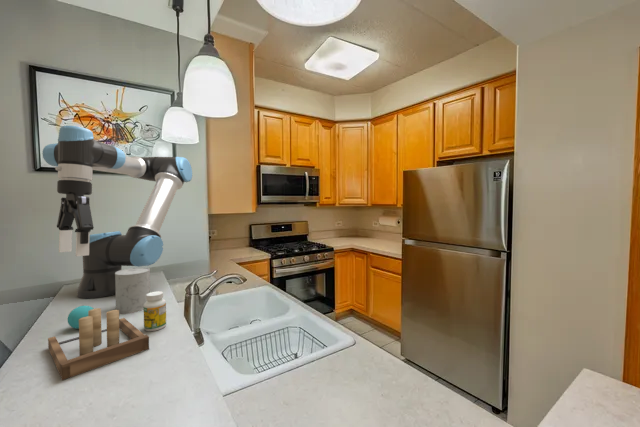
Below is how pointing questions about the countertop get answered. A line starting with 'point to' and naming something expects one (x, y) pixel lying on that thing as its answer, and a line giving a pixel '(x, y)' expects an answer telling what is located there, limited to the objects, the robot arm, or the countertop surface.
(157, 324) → the supplement bottle
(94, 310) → the front pin
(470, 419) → the countertop surface
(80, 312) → the ball
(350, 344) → the countertop surface
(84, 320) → the pin
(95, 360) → the frame
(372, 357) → the countertop surface
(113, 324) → the pin
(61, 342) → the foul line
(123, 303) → the speckled white cylinder
